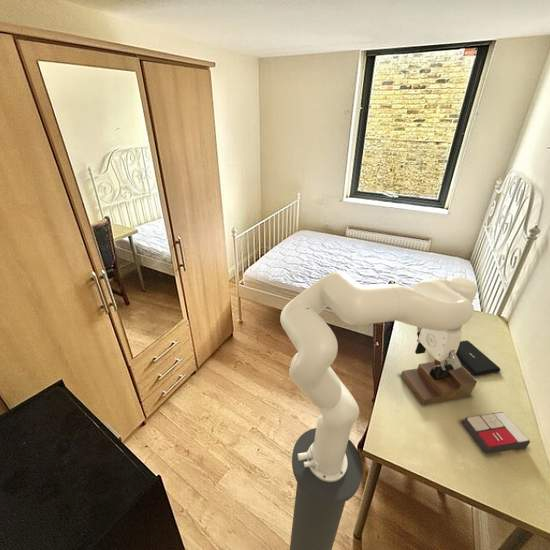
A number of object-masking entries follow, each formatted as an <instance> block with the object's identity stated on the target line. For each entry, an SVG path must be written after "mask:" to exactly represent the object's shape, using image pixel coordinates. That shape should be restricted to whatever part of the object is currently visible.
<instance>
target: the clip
mask: <svg viewBox="0 0 550 550" xmlns="http://www.w3.org/2000/svg"><path fill="white" fill-rule="evenodd" d="M439 367H441V365H438V366H435V368H432V369H431V371H430V375H431V376H432V377H433V378H434V380H438V379H444V378H447V377H448V375H449V372H448V375H447V376H446V377H444V378H437V377H436V374H437V371H438V369H439Z"/></svg>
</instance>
